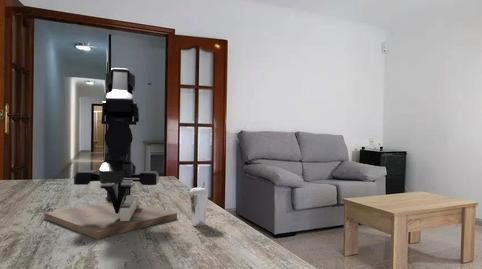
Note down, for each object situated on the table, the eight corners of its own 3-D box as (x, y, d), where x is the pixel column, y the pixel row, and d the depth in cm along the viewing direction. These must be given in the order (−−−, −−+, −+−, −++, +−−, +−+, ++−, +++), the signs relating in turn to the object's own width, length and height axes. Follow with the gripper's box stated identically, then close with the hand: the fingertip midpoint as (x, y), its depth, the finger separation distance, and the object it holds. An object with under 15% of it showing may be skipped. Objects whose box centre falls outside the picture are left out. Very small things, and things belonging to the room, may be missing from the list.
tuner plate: (121, 204, 105) (121, 199, 105) (177, 218, 89) (177, 212, 89) (44, 218, 87) (44, 212, 87) (97, 239, 72) (97, 231, 72)
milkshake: (212, 222, 86) (212, 182, 86) (202, 228, 81) (203, 185, 81) (195, 220, 88) (196, 181, 88) (185, 226, 83) (186, 184, 83)
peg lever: (126, 205, 94) (127, 194, 94) (140, 205, 95) (140, 194, 95) (116, 221, 79) (116, 207, 79) (132, 220, 79) (132, 206, 79)
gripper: (65, 149, 74) (63, 222, 74) (154, 151, 76) (152, 221, 77) (82, 147, 85) (81, 210, 85) (159, 149, 87) (158, 210, 88)
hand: (117, 213), depth 83 cm, fingers closed
